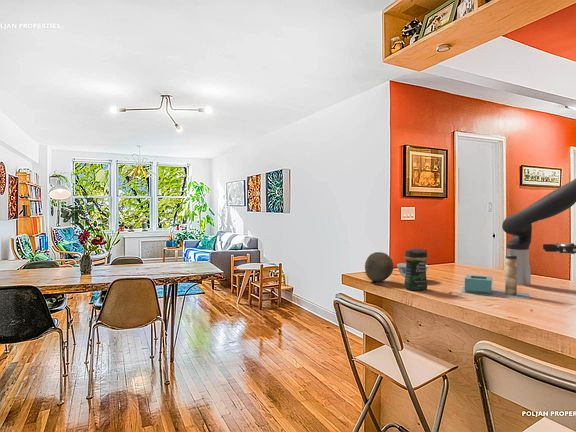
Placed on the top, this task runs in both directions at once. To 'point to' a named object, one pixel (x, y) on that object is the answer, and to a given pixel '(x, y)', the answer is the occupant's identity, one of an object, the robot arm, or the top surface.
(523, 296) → the board
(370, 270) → the dark grey ball
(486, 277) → the teal open box
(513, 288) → the dowel
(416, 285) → the coffee jar
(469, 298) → the top surface
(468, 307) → the top surface
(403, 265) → the chinaware
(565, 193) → the robot arm
